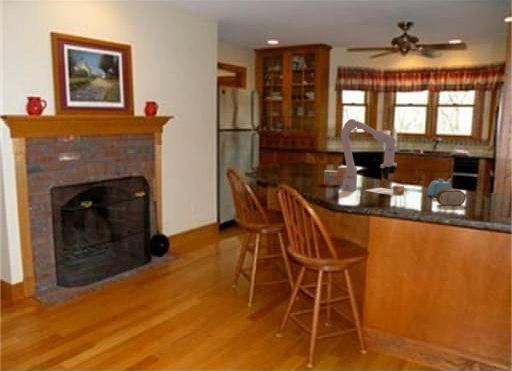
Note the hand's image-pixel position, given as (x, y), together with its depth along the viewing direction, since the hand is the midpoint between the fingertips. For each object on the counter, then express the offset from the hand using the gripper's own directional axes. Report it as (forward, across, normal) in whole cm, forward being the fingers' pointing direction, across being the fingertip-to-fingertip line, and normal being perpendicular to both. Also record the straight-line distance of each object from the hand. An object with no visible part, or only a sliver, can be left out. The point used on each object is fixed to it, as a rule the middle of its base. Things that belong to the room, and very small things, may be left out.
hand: (387, 178), depth 268 cm
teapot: (+9, +14, -27) cm, 32 cm away
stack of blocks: (+9, -2, +35) cm, 36 cm away
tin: (+9, -3, -42) cm, 43 cm away
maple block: (+8, 0, -8) cm, 11 cm away
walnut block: (+1, 0, 0) cm, 1 cm away
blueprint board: (+9, 0, 0) cm, 9 cm away
